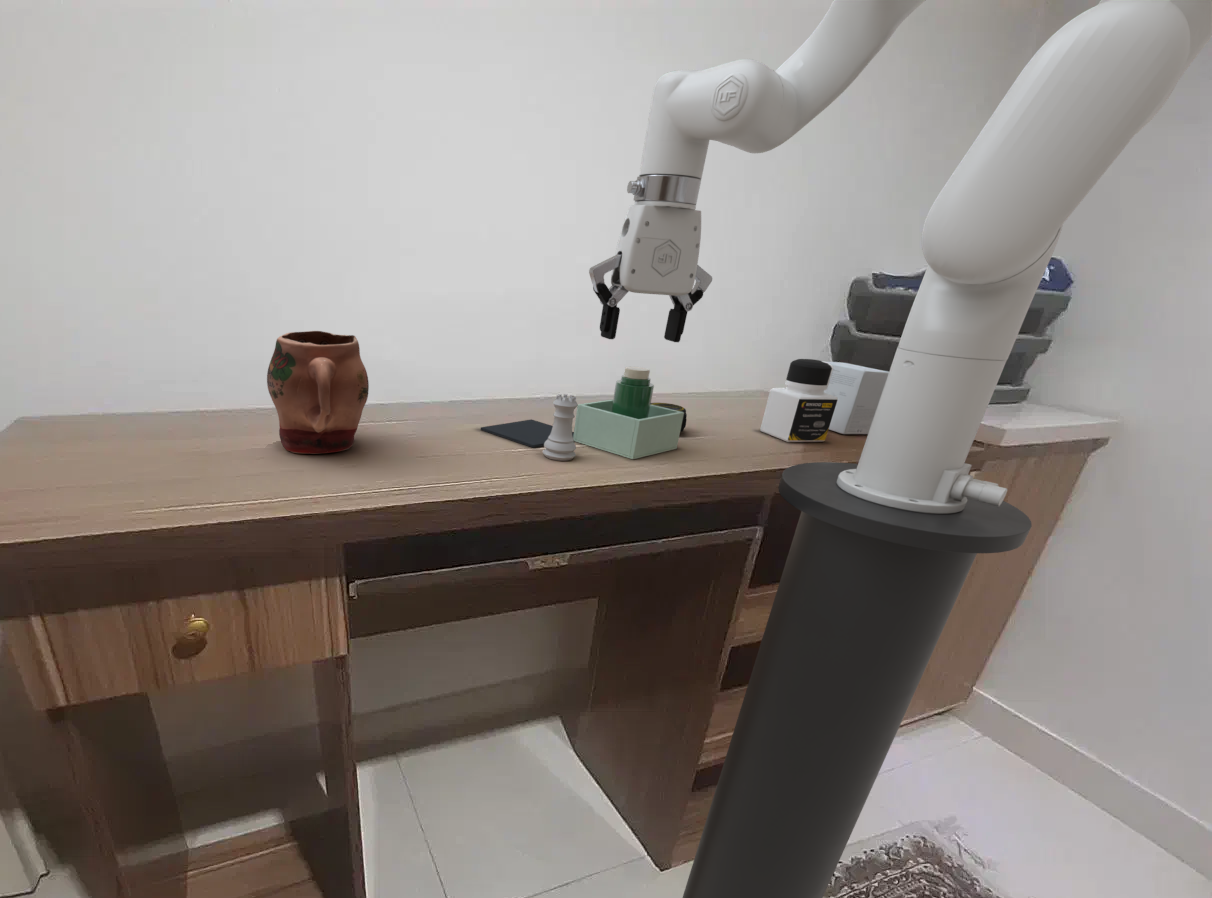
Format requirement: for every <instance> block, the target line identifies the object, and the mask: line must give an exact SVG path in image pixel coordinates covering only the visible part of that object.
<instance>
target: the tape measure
mask: <svg viewBox="0 0 1212 898" xmlns="http://www.w3.org/2000/svg"><path fill="white" fill-rule="evenodd" d="M651 405H655V406H659V407H664V408H668V409H672V410H676V411H680V412H684V416H683V421H682V425H681V430H680V433H681V432H682V433H683V432H684V430H685V429H686V426H687V420H688V419H687V415H688V414H687V409H686V408H685V407H683V406H681V405H678V404H674V403H667V402H651Z"/></svg>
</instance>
